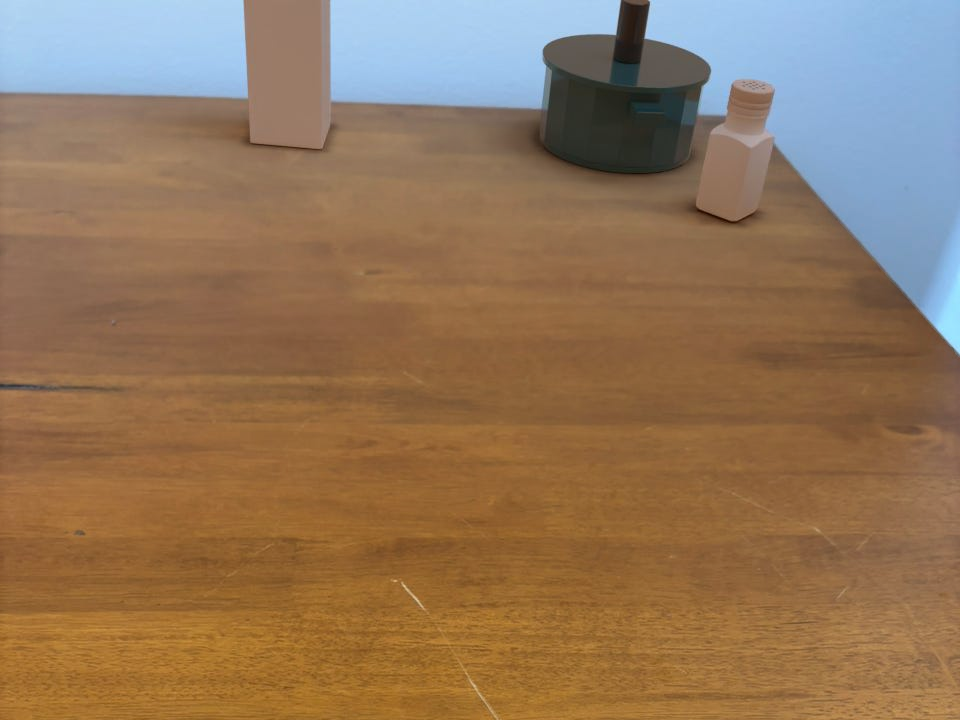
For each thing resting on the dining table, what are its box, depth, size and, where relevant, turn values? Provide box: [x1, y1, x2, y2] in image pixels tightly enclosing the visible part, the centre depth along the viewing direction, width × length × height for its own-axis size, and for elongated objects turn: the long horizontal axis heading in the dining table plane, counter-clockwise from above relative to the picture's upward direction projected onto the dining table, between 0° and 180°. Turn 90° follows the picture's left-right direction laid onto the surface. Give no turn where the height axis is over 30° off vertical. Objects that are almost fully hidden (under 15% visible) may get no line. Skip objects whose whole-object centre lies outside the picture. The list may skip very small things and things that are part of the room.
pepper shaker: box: [695, 78, 776, 222], centre depth 91 cm, size 4×4×10 cm
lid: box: [541, 0, 712, 94], centre depth 98 cm, size 14×14×6 cm
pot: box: [538, 65, 705, 174], centre depth 102 cm, size 13×19×6 cm
